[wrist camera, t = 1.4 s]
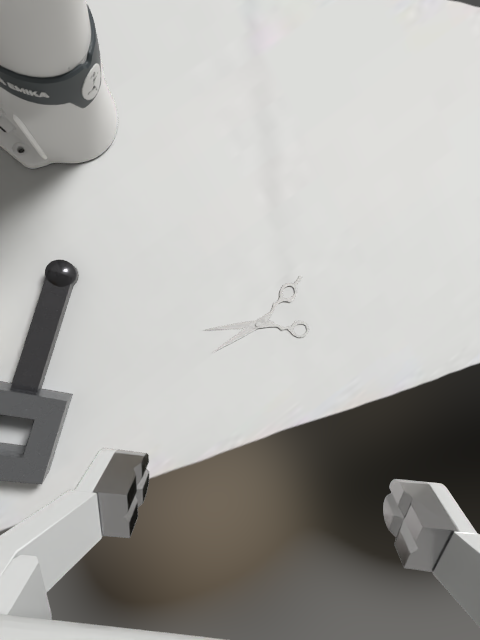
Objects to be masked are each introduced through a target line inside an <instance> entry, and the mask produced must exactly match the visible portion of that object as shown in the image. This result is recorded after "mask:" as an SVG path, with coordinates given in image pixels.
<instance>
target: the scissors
mask: <svg viewBox="0 0 480 640" xmlns="http://www.w3.org/2000/svg"><path fill="white" fill-rule="evenodd" d="M301 279H302V276H298V279H297V280H296V281H295V282H294V284H293V283H286V284H285V285H283V286H282V287H281V289H280V292H279V299H278V301H277V302H276V303H274V304H273V306H272V309H271V311H270V312H269V313H267V314H265V315H264V316H262V317H261V318H259V319H258V320H256V321H249V322H242V323H236V324H231V325H226V326H221V327H215V328H210V329H206V330H227V329H243V328H245V329H243V330H242V331H241V332H239V333H238V334H237V335H235V336H234V337H233V338H231V339H230V340H229V341H227V342H226V343H225V344H223V345H222V346H221V347H219V348H218V349H217V350H219V349H221V348H223V347H225V346H227V345H229V344H231V343H233V342H234V341H236V340H238V339H240V338H242V337H244V336H246V335H247V334H249V333H251V332H253V331H255V330H256V329H258V328H265V327H278V328H279V329H281V330H284V329H288V330H289V331H290V332H291V333H292V334H293V335H294V336H296V337H301V338H302V337H304V336H306V335H307V334H308V332H309V326H308V324H307V323H306V322H304V321H295V322H294V323H293V324H292V325H291V327H290V326H287V327H283V326H280V325H277V324H276V323H274V322H272V321H270V320H269V318H270V316H271V315H272V313H273V311H274V309H275V307H276V306H277V305H278V304H279V303H281V302H283V301H287V302H291V301H292V300H294V298H295V297H296V294H297V288H296V285H297V284H298V282H299V281H300V280H301ZM287 286H292V287H293V288H294V294H293V296H292V297H290V298H288V299H286V298H284V297H283V293H282V292H283V290H284V288H285V287H287ZM297 324H304V325H305V326H306V332H305V334H303V335H300V336H299V335H297V334H295V332H294V330H293V329H294V327H295V326H296V325H297ZM217 350H215V351H217ZM215 351H214V352H215Z"/></svg>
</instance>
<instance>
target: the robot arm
mask: <svg viewBox="0 0 480 640" xmlns="http://www.w3.org/2000/svg"><path fill="white" fill-rule="evenodd" d="M117 128H118V112H117V107H116V104H115V101H114V99H113V96H112V94H111V92H110V90H109V88H108V85H107V82H106V80H105V77H104V69H103V64H102V61H101V58H100V51H99V45H98V39H97V34H96V29H95V23H94V20H93V17H92V14H91V11H90V9H89V7H88V5H87V2H86V0H0V146H1V147H2V148H3V149H4V150H5V151H7V152H8V153H9V154H10V155H11V156H13V157H14V158H15V159H16V160H18V161H19V162H20V163H21V164H22V165H24V166H25V167H27V168H31V169H34V168H39V167H43V166H46V165H48V164H51V163H80V162H85V161H89V160H91V159H94V158H96V157H98V156H99V155H101V154H102V153H103V152H104V151H106V150H107V149H108V147H109V146H110V145H111V143H112V142H113V140H114V138H115V135H116V132H117ZM20 149H24V152H23V153H19V150H20ZM148 463H149V458H148V454H147V453H140V452H133V451H125V450H116V449H108V448H102V449H101V450H100V451H99V452H98V453H97V455H96V457H95V458H94V460H93V461H92V463H91V464H90V466H89V468H88V469H87V471H86V472H85V474H84V475H83V477H82V479H81V480H80V482H79V483H78V485H77V487H76V488H75V490H69V491H67V492H66V493H64V494H63V495H61V496H60V497H58V498H57V499H55V500H54V501H52V502H51V503H49V504H48V505H46V506H45V507H43V508H41V509H40V510H38V511H37V512H35V513H34V514H32V515H31V516H29V517H28V518H26V519H25V520H23V521H22V522H20V523H19V524H17V525H16V526H14V527H13V528H11V529H10V530H8V531H7V532H5V533H4V534H2V535H1V536H0V640H226V639H217V638H208V637H199V636H190V635H181V634H173V633H164V632H155V631H146V630H138V629H128V628H120V627H111V626H102V625H93V624H84V623H76V622H67V621H58V620H51V618H52V615H51V610H50V606H49V602H48V598H47V594H46V592H47V591H48V590H49V589H50V588H52V586H54V585H55V584H56V583H57V582H58V581H59V580H60V579H61V578H62V577H63V576H64V575H65V574H66V573H67V571H69V570H70V569H71V568H72V567H73V566H74V565H75V564H76V563H77V562H78V561H79V560H80V559H81V558H82V557H83V556H84V555H85V554H86V553H87V552H88V551H89V550H90V549H91V548H92V547H93V546H94V545H95V544H96V543H97V542H98V541H99V540H100V539H101V538H102V536H111V537H124V538H130V536H131V534H132V531H133V529H134V526H135V523H136V520H137V518H138V507H139V506H140V505H141V504H143V502H144V499H145V496H146V493H147V488H148V484H149V471H148V470H147V469H146V468H147V465H148ZM390 490H391V492H392V493H391V494H389V495H388V496H387V497H385V501H384V504H383V513H384V518H385V522H386V525H387V527H388V529H389V531H391V533H392V534H393V535H394V536H395V537H396V541H395V544H394V545H395V547H396V550H397V552H398V554H399V557H400V559H401V562H402V564H403V567H404V568H409V569H415V570H423V571H430V572H433V574H434V576H435V577H436V578H437V579H438V580H439V582H440V583H441V584H442V585H443V586H444V587H445V588H446V589H447V591H448V592H449V593H450V594H451V595H452V596H453V598H454V599H455V600H456V601H457V602H458V603H459V604H460V606H461V607H462V608H463V609H464V610H465V611H466V613H467V614H468V615H469V616H470V617H471V618H472V619H473V620H474V622H475V623H476V624H477V625H478V626H479V627H480V534H477V533H476V531H475V530H474V528H473V527H472V525H471V524H470V522H469V521H468V519H467V518H466V516H465V515H464V513H463V512H462V510H461V509H460V507H459V506H458V504H457V503H456V502H455V500H454V498H453V497H452V495H451V494H450V492H449V491H448V489H447V488H446V487H445V486H444V485H443V484H440V483H430V482H429V483H428V482H421V481H410V480H399V479H394V480H393V481H392V482H391V484H390Z"/></svg>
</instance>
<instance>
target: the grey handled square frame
mask: <svg viewBox="0 0 480 640" xmlns="http://www.w3.org/2000/svg"><path fill="white" fill-rule="evenodd" d="M45 275H46V278H45V281H44V285H43V288H42V291H41V294H40V297H39V300H38V303H37V307H36V310H35V313H34V316H33V319H32V322H31V325H30V329H29V332H28V335H27V338H26V341H25V344H24V348H23V351H22V354H21V357H20V360H19V363H18V366H17V370H16V373H15V376H14V379H13V382H12V383H8V382H2V381H0V415H7V416H14V417H21V418H27V419H34V423H33V427H32V430H31V433H30V436H29V439H28V443H27V446H23V445H15V444H7V443H0V480H2V481H13V482H24V483H35V484H42V483H43V481H44V479H45V478H46V476H47V474H48V472H49V470H50V467H51V464H52V460H53V457H54V454H55V451H56V447H57V444H58V441H59V437H60V434H61V431H62V428H63V424H64V421H65V418H66V414H67V411H68V408H69V405H70V401H71V398H72V395H73V394H69V393H63V392H58V391H52V390H47V389H41V388H42V385H43V382H44V379H45V375H46V372H47V369H48V366H49V362H50V359H51V356H52V353H53V350H54V346H55V343H56V340H57V337H58V334H59V330H60V327H61V324H62V321H63V317H64V314H65V311H66V308H67V305H68V301H69V298H70V295H71V292H72V289H73V285H74V284H75V283H76V282H77V280H78V271H77V269H76V268H75V267H74V266H73V265H72V264H70V263H69V262H67V261H65V260H55V261H52V262H51V263H49V264H48V265H47V267H46V270H45Z"/></svg>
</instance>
